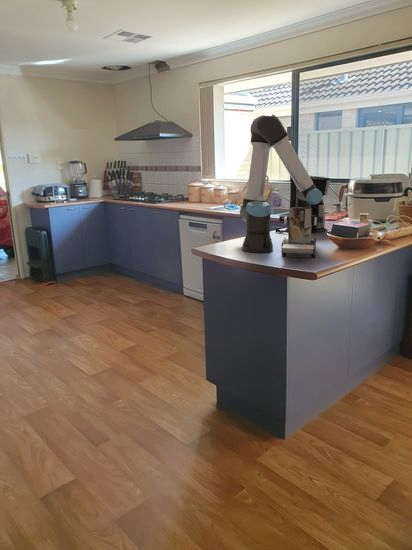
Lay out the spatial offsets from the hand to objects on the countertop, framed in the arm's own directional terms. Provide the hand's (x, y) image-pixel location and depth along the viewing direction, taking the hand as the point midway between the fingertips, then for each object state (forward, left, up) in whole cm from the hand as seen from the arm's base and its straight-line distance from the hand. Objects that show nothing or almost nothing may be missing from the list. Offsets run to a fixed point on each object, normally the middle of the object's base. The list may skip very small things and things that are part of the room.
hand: (300, 221), depth 197 cm
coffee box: (0, +3, -10) cm, 11 cm away
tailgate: (0, -6, -10) cm, 11 cm away
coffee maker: (-2, +74, -16) cm, 76 cm away
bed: (0, +2, -16) cm, 16 cm away
